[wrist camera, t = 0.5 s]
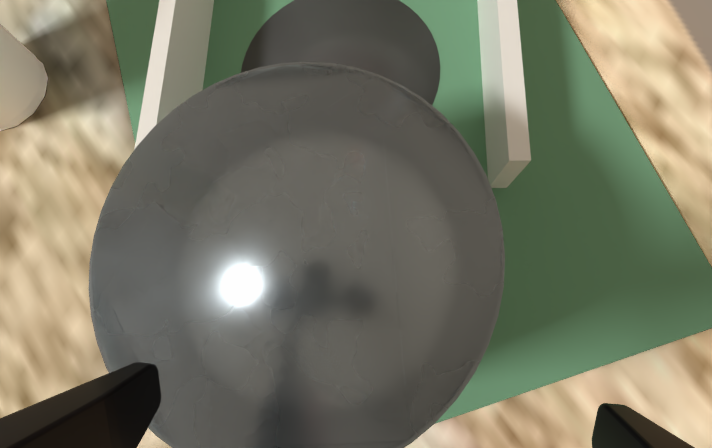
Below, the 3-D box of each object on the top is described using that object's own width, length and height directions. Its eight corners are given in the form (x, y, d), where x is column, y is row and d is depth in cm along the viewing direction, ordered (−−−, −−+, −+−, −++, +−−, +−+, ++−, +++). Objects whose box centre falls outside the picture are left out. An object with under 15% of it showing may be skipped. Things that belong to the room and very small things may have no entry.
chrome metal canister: (500, 358, 20) (585, 392, 11) (243, 446, 20) (126, 550, 11) (404, 124, 23) (411, 11, 15) (186, 202, 23) (63, 136, 15)
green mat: (737, 317, 19) (741, 318, 19) (210, 499, 20) (208, 501, 19) (467, -147, 28) (467, -150, 28) (104, -15, 28) (102, -17, 28)
